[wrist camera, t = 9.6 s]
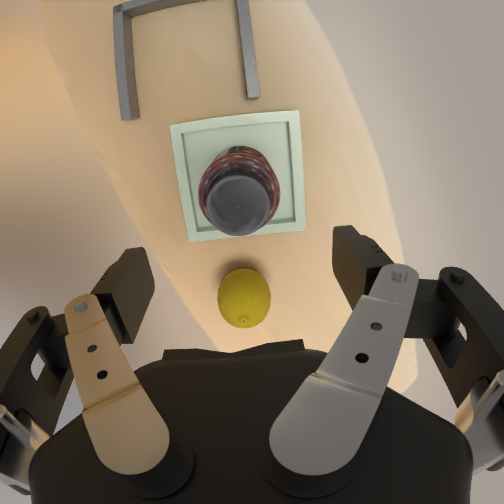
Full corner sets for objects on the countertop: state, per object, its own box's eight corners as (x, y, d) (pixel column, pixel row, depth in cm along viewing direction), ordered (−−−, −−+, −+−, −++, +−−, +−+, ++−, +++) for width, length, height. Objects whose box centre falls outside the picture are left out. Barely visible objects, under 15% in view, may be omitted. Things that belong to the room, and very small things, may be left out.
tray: (173, 124, 26) (169, 125, 24) (295, 110, 26) (298, 110, 24) (192, 234, 31) (189, 242, 30) (302, 223, 31) (305, 230, 29)
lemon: (245, 247, 32) (246, 286, 25) (277, 279, 34) (285, 322, 27) (210, 276, 34) (202, 319, 26) (242, 304, 36) (242, 350, 28)
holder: (122, 13, 20) (113, 6, 18) (244, -12, 20) (245, -22, 17) (130, 119, 25) (121, 120, 23) (258, 98, 25) (259, 96, 23)
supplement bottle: (283, 167, 28) (307, 197, 17) (247, 214, 30) (251, 268, 19) (232, 132, 26) (225, 140, 16) (198, 182, 28) (173, 220, 18)
